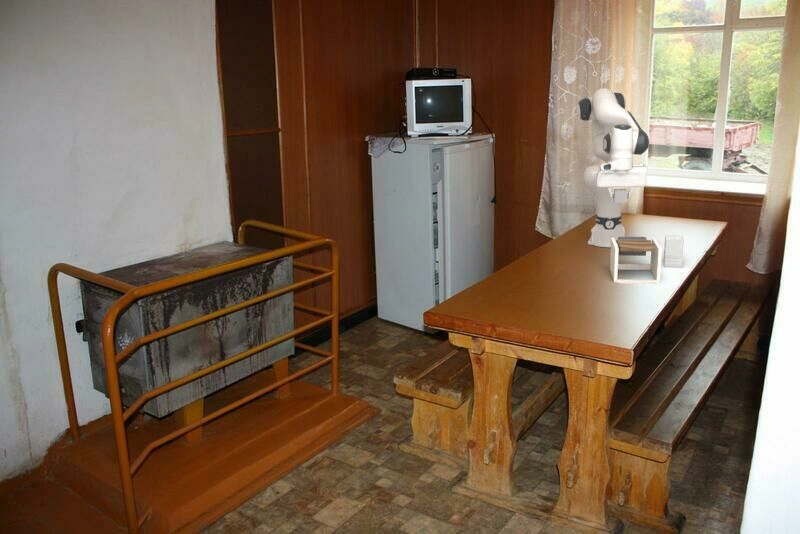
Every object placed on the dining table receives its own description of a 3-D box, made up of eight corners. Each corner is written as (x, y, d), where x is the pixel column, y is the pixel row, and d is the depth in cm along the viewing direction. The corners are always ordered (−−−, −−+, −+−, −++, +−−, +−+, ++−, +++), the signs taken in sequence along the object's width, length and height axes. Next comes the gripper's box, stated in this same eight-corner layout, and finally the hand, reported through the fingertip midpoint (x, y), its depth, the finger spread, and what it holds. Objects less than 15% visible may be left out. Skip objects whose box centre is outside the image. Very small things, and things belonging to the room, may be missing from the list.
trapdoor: (613, 252, 300) (614, 236, 298) (648, 252, 297) (649, 236, 295) (618, 265, 281) (619, 248, 279) (655, 265, 279) (656, 248, 277)
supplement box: (681, 263, 303) (683, 235, 300) (682, 268, 296) (684, 239, 293) (663, 262, 305) (665, 234, 302) (663, 267, 299) (665, 238, 295)
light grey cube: (613, 200, 297) (613, 189, 296) (625, 200, 296) (626, 188, 295) (614, 202, 292) (614, 190, 291) (627, 202, 291) (627, 190, 290)
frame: (609, 268, 300) (610, 237, 296) (652, 269, 296) (654, 237, 292) (614, 283, 281) (615, 249, 277) (660, 283, 277) (662, 249, 273)
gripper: (646, 163, 291) (645, 196, 294) (595, 164, 295) (595, 196, 299) (648, 164, 285) (647, 198, 289) (596, 166, 289) (596, 199, 293)
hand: (620, 197), depth 294 cm, fingers closed on light grey cube, 5 cm apart
